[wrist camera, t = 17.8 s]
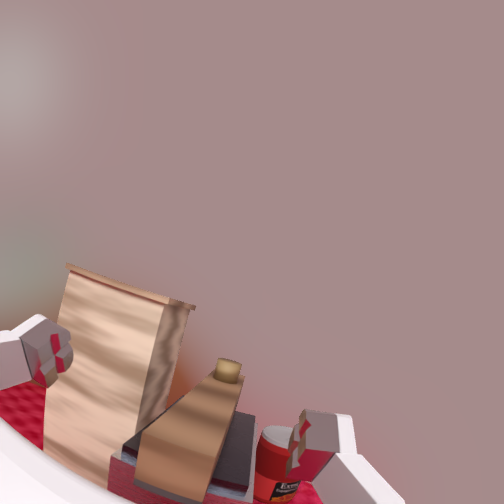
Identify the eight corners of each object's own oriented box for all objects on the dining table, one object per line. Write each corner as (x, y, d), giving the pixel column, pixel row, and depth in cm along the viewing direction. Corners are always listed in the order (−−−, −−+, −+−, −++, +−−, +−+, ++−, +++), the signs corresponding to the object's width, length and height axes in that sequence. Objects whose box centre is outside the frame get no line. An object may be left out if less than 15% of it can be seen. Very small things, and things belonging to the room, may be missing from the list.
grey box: (206, 601, 9) (257, 491, 12) (105, 566, 10) (112, 443, 13) (226, 516, 24) (259, 415, 28) (157, 495, 25) (180, 392, 29)
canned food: (275, 511, 27) (299, 451, 30) (232, 487, 32) (251, 428, 35) (302, 494, 33) (324, 439, 35) (263, 475, 38) (281, 422, 40)
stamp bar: (200, 508, 10) (226, 420, 11) (133, 484, 10) (149, 395, 11) (237, 402, 31) (249, 360, 32) (208, 394, 31) (220, 352, 32)
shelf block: (126, 509, 20) (169, 298, 26) (38, 457, 21) (66, 262, 27) (156, 472, 31) (196, 305, 36) (80, 436, 32) (111, 279, 38)
